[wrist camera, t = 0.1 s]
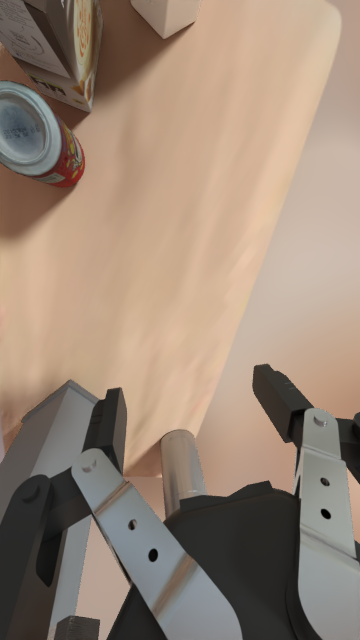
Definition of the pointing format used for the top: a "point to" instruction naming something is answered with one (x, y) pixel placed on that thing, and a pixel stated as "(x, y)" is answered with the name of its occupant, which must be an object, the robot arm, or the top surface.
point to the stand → (53, 473)
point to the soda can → (37, 138)
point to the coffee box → (55, 45)
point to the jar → (168, 14)
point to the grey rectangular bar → (75, 629)
